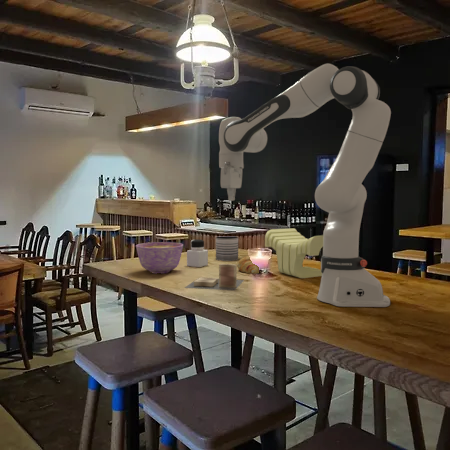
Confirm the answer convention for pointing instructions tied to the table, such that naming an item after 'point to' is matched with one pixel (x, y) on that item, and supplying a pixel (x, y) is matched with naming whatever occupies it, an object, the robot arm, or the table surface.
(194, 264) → the medicine bottle
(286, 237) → the slatted curved stool
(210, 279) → the tile
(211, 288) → the board
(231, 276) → the tile
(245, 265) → the croissant
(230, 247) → the can
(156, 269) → the purple bowl
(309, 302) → the table surface
